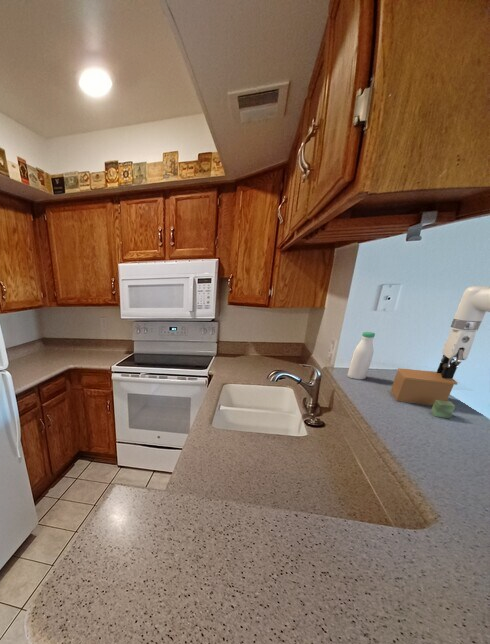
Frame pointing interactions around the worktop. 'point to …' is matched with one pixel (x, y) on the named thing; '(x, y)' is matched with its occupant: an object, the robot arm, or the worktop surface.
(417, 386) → the carton
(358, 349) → the milk bottle
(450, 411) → the block
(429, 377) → the flap
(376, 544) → the worktop surface
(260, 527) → the worktop surface
